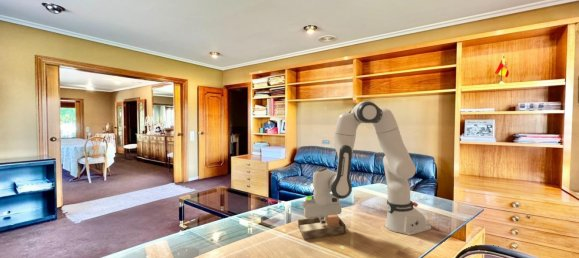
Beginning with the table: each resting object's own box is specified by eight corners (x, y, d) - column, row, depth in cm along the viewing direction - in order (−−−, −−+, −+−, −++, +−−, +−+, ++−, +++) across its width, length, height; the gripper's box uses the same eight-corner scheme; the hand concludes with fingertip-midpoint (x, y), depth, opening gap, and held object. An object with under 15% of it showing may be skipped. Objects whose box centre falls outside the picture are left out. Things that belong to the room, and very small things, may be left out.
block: (336, 221, 142) (335, 214, 142) (339, 225, 137) (338, 218, 137) (325, 222, 141) (325, 215, 141) (328, 226, 136) (328, 219, 136)
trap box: (336, 221, 147) (335, 213, 147) (345, 234, 132) (345, 224, 132) (298, 226, 144) (297, 217, 144) (303, 239, 129) (303, 230, 129)
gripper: (304, 202, 132) (305, 228, 134) (342, 198, 135) (343, 223, 137) (301, 198, 139) (302, 223, 140) (338, 194, 142) (339, 218, 143)
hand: (323, 223), depth 138 cm, fingers closed
